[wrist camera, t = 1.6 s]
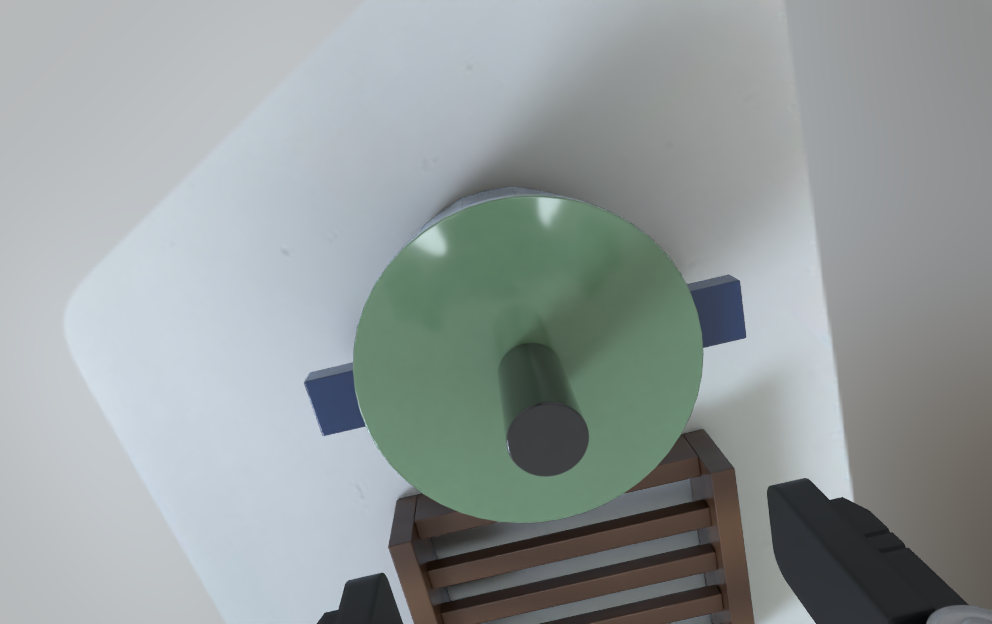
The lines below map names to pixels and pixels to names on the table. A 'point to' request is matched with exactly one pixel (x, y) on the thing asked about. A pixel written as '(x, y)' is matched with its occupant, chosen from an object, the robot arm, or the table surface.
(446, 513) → the plate rack
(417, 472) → the lid
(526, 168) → the table surface
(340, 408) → the pot
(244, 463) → the table surface
